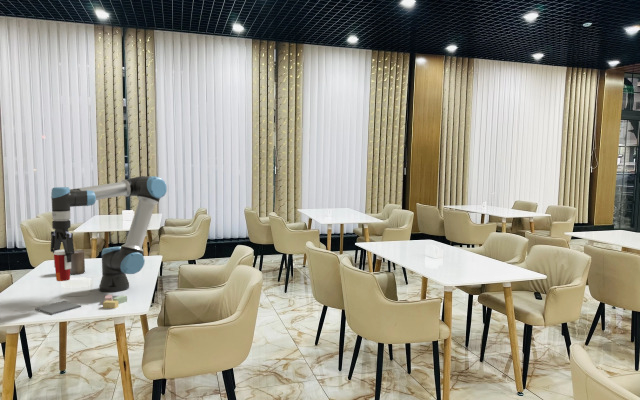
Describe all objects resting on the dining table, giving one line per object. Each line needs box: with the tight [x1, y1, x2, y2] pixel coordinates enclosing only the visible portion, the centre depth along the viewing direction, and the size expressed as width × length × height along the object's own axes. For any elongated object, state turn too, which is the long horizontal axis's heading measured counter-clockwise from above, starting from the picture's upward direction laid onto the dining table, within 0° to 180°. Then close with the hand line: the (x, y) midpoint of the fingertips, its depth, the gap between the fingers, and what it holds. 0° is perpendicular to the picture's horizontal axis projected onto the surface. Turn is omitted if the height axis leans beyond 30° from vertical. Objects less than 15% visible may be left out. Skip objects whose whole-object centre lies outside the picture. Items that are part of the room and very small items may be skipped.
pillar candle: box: [70, 249, 86, 275], centre depth 295 cm, size 10×10×15 cm
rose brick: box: [104, 294, 113, 301], centre depth 234 cm, size 6×3×3 cm, turn 21°
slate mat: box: [34, 300, 82, 316], centre depth 224 cm, size 14×14×1 cm
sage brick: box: [112, 294, 128, 305], centre depth 233 cm, size 6×3×3 cm, turn 152°
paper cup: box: [52, 249, 71, 282], centre depth 222 cm, size 8×8×14 cm
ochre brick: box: [102, 300, 119, 309], centre depth 226 cm, size 6×3×3 cm, turn 83°
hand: (62, 267), depth 223 cm, fingers closed on paper cup, 8 cm apart
